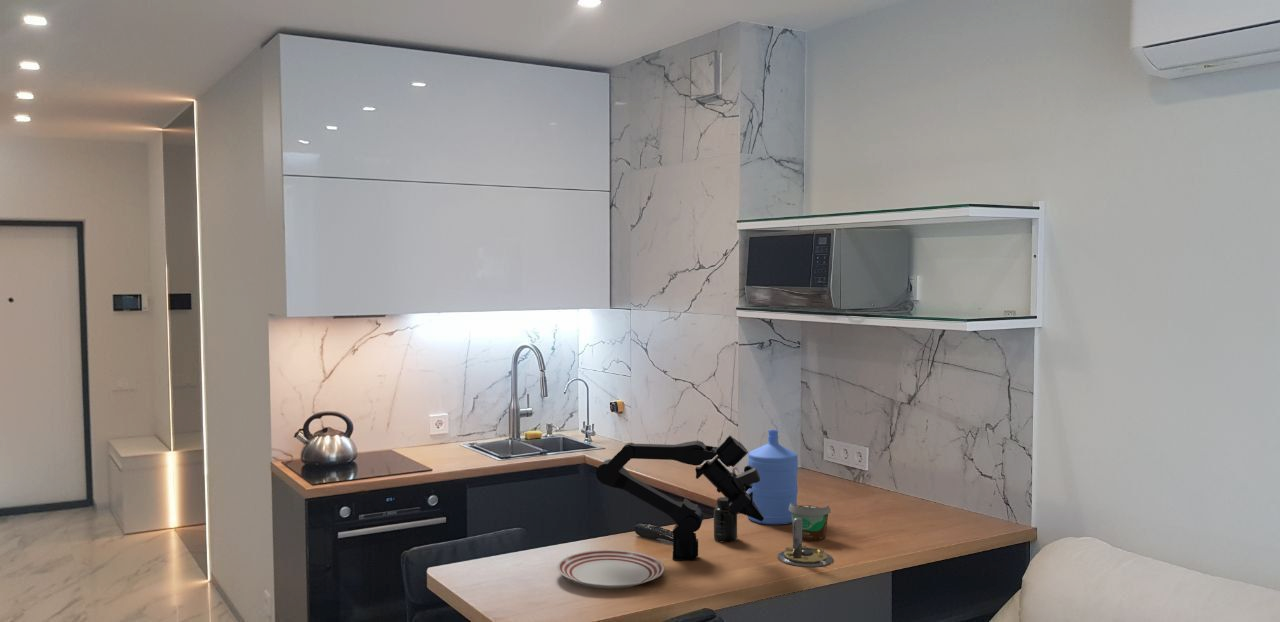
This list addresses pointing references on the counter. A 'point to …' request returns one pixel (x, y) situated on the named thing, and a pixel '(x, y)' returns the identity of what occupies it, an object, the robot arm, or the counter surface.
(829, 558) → the flange
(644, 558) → the dinner plate
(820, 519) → the food container
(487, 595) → the counter surface
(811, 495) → the counter surface
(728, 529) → the supplement bottle
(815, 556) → the rod on round base
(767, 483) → the water jug
